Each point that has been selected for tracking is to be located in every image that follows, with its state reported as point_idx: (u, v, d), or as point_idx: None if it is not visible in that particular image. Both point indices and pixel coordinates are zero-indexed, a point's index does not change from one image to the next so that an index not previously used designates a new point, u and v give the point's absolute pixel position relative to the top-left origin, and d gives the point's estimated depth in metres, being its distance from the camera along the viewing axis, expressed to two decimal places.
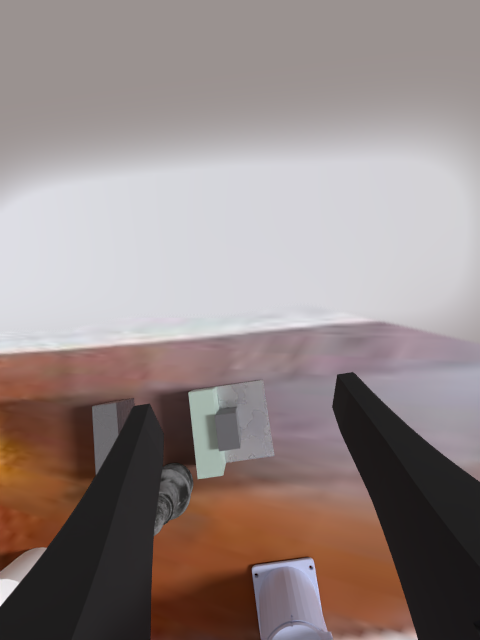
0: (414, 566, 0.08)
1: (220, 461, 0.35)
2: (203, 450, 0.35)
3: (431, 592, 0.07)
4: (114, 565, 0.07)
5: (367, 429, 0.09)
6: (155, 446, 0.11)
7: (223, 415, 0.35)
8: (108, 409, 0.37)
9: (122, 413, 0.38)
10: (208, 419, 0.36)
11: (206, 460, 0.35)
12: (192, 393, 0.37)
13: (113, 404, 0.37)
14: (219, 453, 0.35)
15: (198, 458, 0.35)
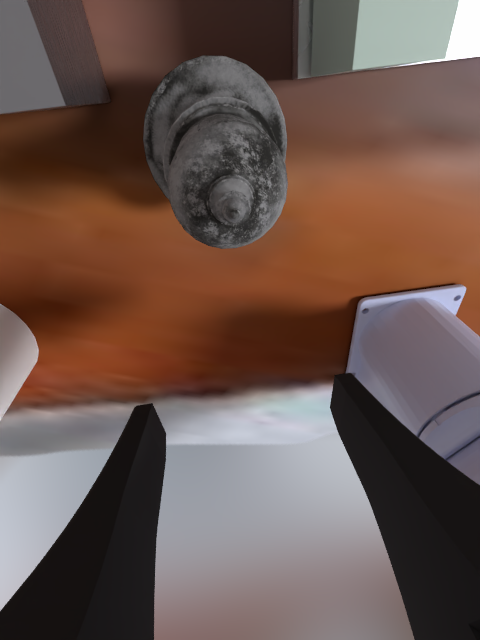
0: (410, 567, 0.08)
1: None
2: None
3: (427, 593, 0.07)
4: (118, 564, 0.07)
5: (364, 429, 0.09)
6: (158, 446, 0.11)
7: None
8: None
9: None
10: None
11: None
12: None
13: None
14: None
15: None
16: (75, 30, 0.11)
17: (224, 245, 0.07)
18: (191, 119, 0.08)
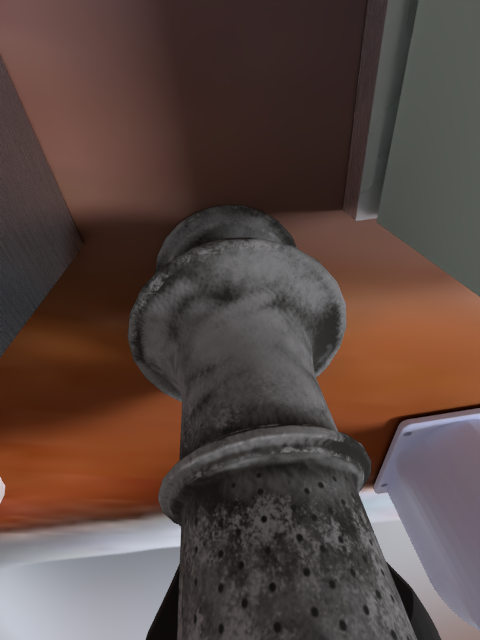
0: None
1: None
2: None
3: None
4: None
5: None
6: None
7: None
8: None
9: None
10: None
11: None
12: None
13: None
14: None
15: None
16: (13, 193, 0.07)
17: None
18: (215, 469, 0.04)
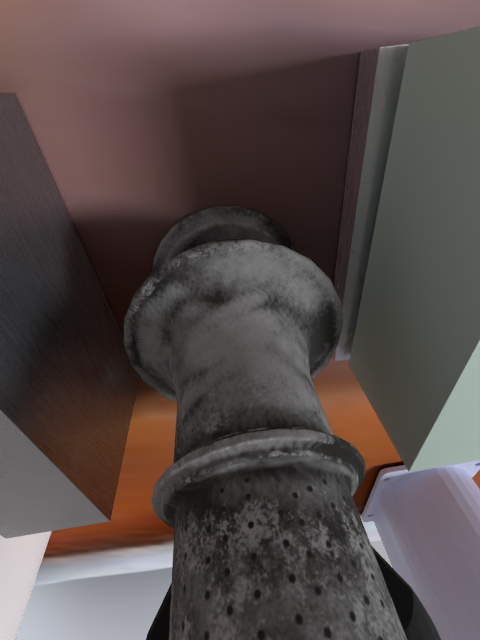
0: None
1: None
2: None
3: None
4: None
5: None
6: None
7: None
8: None
9: None
10: None
11: (472, 430, 0.08)
12: None
13: None
14: None
15: (444, 429, 0.08)
16: (111, 378, 0.10)
17: None
18: (204, 475, 0.04)
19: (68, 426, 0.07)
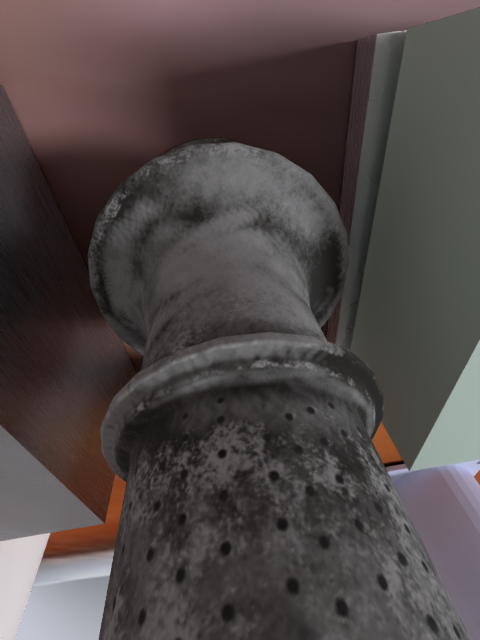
0: None
1: None
2: None
3: None
4: None
5: None
6: None
7: None
8: None
9: None
10: None
11: (474, 428, 0.08)
12: None
13: None
14: None
15: (445, 427, 0.07)
16: (106, 377, 0.10)
17: None
18: (163, 398, 0.03)
19: (60, 426, 0.07)
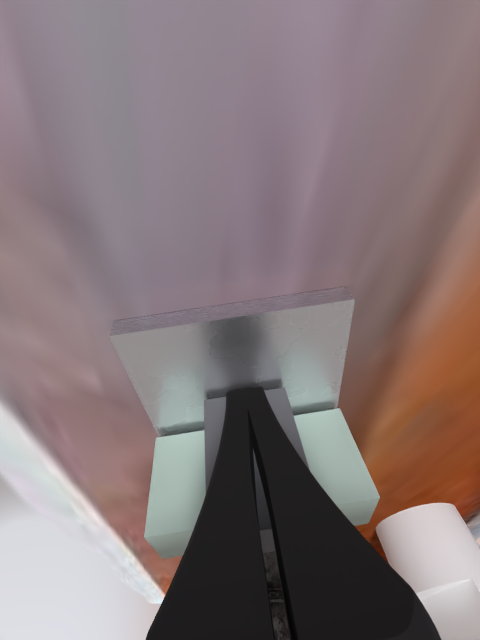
0: (283, 589, 0.08)
1: (343, 504, 0.13)
2: None
3: (288, 618, 0.07)
4: (260, 540, 0.07)
5: (257, 447, 0.09)
6: (250, 431, 0.11)
7: None
8: None
9: None
10: None
11: None
12: (164, 554, 0.14)
13: None
14: None
15: None
16: None
17: None
18: None
19: None
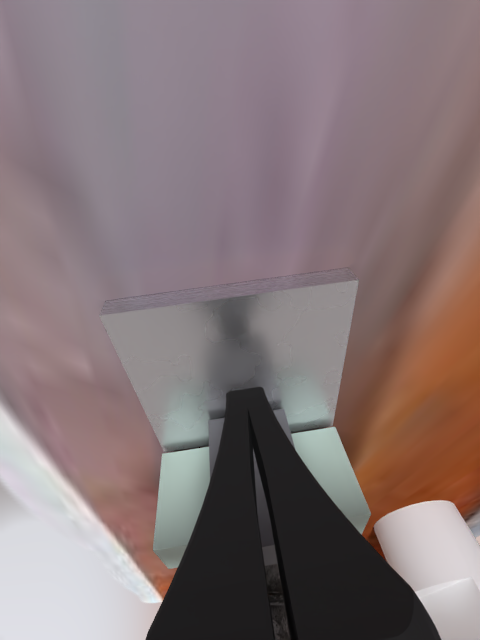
0: (283, 589, 0.08)
1: None
2: None
3: (288, 618, 0.07)
4: (260, 540, 0.07)
5: (257, 447, 0.09)
6: (250, 431, 0.11)
7: None
8: None
9: None
10: None
11: None
12: (170, 565, 0.15)
13: None
14: None
15: None
16: None
17: None
18: None
19: None
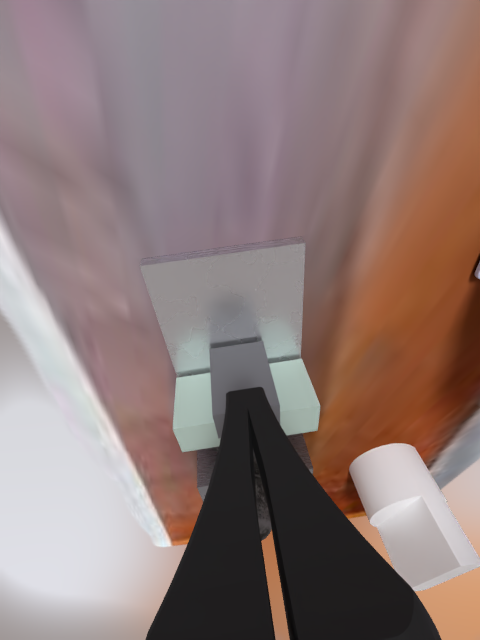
0: (283, 589, 0.08)
1: (297, 410, 0.20)
2: None
3: (288, 618, 0.07)
4: (260, 540, 0.07)
5: (257, 447, 0.09)
6: (250, 431, 0.11)
7: (217, 428, 0.18)
8: None
9: (214, 464, 0.27)
10: None
11: (291, 424, 0.21)
12: (183, 448, 0.21)
13: (199, 489, 0.25)
14: (284, 412, 0.20)
15: (287, 432, 0.22)
16: None
17: (269, 532, 0.20)
18: None
19: None
